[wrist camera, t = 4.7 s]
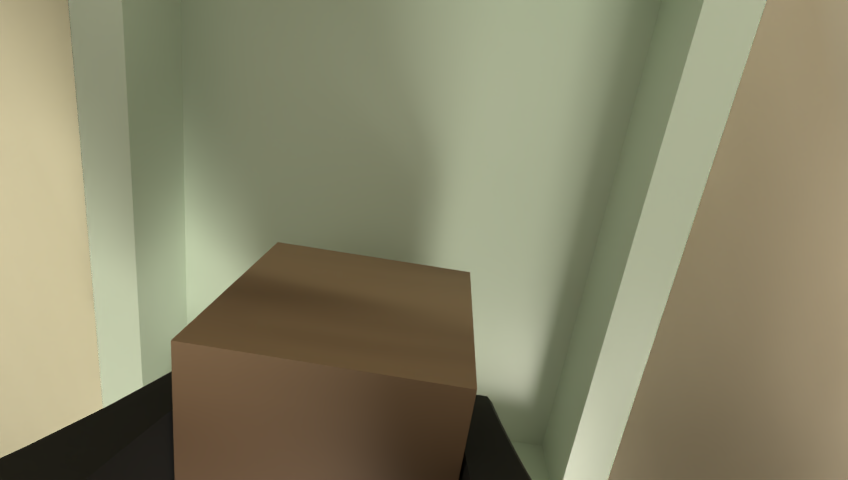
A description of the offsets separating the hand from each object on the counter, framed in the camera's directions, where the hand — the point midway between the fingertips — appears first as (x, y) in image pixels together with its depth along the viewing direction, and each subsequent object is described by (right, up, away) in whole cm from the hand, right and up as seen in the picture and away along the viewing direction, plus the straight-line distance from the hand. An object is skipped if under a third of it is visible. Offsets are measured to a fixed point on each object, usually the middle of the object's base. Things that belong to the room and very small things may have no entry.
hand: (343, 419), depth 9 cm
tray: (+1, +4, +3) cm, 5 cm away
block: (0, +1, +2) cm, 2 cm away
